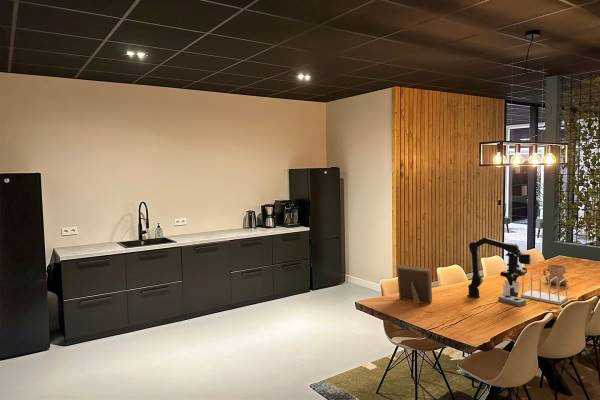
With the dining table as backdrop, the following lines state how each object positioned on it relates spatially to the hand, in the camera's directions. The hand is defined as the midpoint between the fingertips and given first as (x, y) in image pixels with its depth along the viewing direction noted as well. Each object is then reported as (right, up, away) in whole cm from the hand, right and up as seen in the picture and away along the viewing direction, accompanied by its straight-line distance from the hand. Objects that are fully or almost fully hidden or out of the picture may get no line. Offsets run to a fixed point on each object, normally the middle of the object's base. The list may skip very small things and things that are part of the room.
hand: (512, 285), depth 302 cm
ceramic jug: (+55, -8, +45) cm, 72 cm away
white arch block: (0, -4, 0) cm, 4 cm away
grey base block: (0, -12, +1) cm, 12 cm away
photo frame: (-66, -13, +3) cm, 68 cm away
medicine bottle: (+7, -11, +17) cm, 21 cm away
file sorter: (+27, -11, +10) cm, 31 cm away
